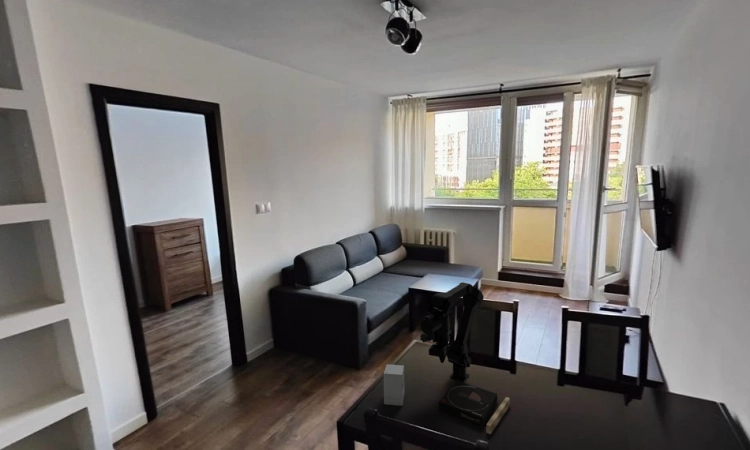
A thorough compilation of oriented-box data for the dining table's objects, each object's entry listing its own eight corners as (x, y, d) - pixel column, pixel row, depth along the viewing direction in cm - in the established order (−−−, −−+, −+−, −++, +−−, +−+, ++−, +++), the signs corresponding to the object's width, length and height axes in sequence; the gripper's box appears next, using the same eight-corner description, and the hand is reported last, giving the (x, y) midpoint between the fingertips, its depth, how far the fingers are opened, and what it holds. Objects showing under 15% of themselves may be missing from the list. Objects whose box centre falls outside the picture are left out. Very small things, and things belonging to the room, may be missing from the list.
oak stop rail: (506, 404, 133) (506, 396, 132) (509, 405, 132) (509, 398, 131) (486, 432, 118) (486, 424, 118) (490, 434, 117) (490, 426, 117)
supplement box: (402, 406, 133) (402, 375, 132) (383, 404, 135) (382, 373, 133) (405, 394, 140) (404, 365, 139) (386, 393, 142) (386, 363, 140)
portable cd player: (497, 402, 135) (497, 392, 134) (482, 428, 121) (482, 417, 120) (456, 388, 144) (456, 379, 144) (438, 411, 130) (438, 401, 130)
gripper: (428, 314, 151) (429, 348, 153) (415, 332, 134) (416, 370, 137) (454, 318, 147) (454, 353, 149) (443, 336, 130) (444, 376, 132)
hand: (442, 362), depth 142 cm, fingers closed
